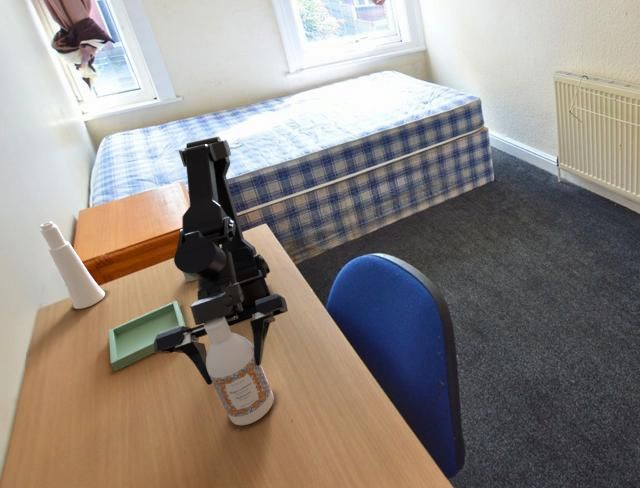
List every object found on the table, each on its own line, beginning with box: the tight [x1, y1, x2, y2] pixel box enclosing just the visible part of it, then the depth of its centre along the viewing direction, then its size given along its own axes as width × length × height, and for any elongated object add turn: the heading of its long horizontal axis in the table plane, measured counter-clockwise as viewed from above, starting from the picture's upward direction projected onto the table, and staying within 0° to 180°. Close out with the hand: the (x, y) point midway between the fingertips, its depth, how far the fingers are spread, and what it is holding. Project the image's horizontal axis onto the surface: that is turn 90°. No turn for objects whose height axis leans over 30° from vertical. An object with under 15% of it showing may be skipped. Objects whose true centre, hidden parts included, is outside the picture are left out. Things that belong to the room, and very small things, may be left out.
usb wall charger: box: [182, 272, 197, 282], centre depth 120 cm, size 4×7×4 cm, turn 25°
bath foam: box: [203, 316, 275, 426], centre depth 78 cm, size 7×7×20 cm
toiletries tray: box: [108, 300, 187, 372], centre depth 100 cm, size 13×13×2 cm
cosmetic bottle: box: [39, 221, 106, 310], centre depth 110 cm, size 6×6×22 cm
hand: (234, 374), depth 77 cm, fingers closed on bath foam, 7 cm apart
